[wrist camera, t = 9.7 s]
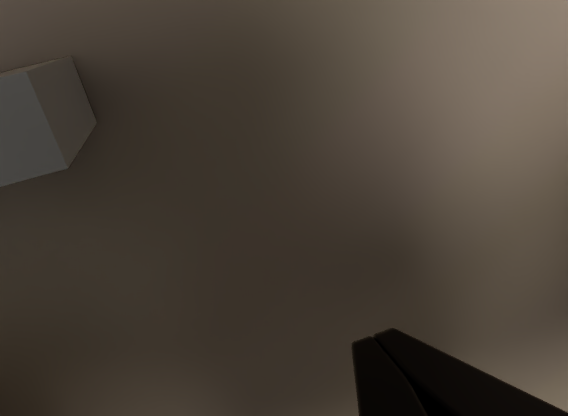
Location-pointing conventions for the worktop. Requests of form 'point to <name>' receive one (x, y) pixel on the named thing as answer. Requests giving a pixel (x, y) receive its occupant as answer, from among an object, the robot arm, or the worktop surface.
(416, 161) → the worktop surface
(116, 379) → the worktop surface
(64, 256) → the worktop surface
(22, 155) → the frame
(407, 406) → the robot arm
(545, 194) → the worktop surface
